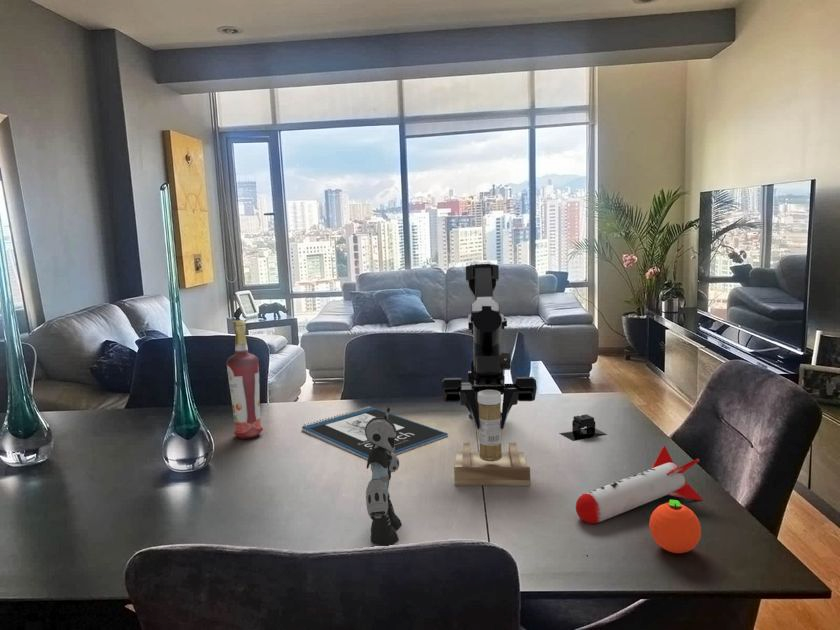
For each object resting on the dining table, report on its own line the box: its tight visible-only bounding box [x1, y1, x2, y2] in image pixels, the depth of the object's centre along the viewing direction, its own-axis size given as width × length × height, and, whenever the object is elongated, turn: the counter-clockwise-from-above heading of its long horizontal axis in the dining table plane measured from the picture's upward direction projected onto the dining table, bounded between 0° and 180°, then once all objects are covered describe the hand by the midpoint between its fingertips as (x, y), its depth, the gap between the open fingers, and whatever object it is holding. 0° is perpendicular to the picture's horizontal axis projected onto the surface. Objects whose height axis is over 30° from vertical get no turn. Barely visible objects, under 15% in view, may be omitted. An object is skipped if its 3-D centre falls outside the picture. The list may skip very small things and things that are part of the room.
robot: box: [365, 407, 403, 547], centre depth 92 cm, size 20×5×20 cm, turn 176°
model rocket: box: [575, 445, 704, 525], centre depth 99 cm, size 11×23×10 cm
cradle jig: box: [453, 442, 531, 486], centre depth 116 cm, size 14×14×3 cm
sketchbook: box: [301, 405, 449, 460], centre depth 140 cm, size 22×30×2 cm
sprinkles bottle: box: [478, 390, 502, 461], centre depth 115 cm, size 5×5×14 cm
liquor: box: [225, 319, 264, 440], centre depth 139 cm, size 7×7×28 cm
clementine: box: [648, 499, 702, 554], centre depth 85 cm, size 8×7×7 cm
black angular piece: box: [559, 414, 608, 442], centre depth 134 cm, size 12×7×5 cm, turn 110°
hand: (490, 428), depth 114 cm, fingers closed on sprinkles bottle, 4 cm apart
